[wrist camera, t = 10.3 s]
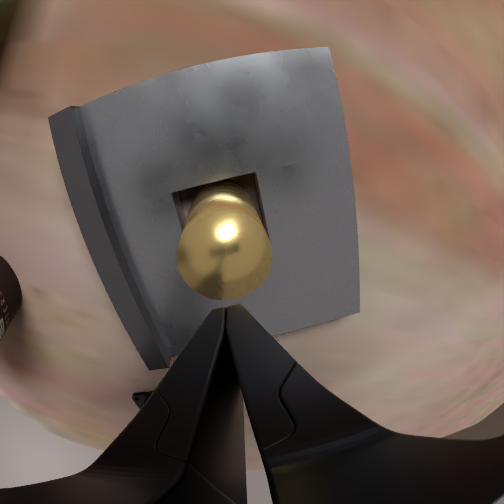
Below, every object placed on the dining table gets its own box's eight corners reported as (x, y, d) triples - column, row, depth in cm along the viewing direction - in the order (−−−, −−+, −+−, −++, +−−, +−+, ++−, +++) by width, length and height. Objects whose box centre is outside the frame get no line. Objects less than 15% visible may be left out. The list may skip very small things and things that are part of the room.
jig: (349, 297, 22) (366, 321, 19) (155, 342, 22) (149, 370, 19) (318, 54, 15) (336, 42, 12) (73, 117, 15) (48, 117, 12)
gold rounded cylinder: (259, 233, 19) (279, 288, 13) (200, 247, 19) (192, 308, 13) (246, 174, 18) (262, 202, 11) (183, 190, 18) (163, 226, 11)
